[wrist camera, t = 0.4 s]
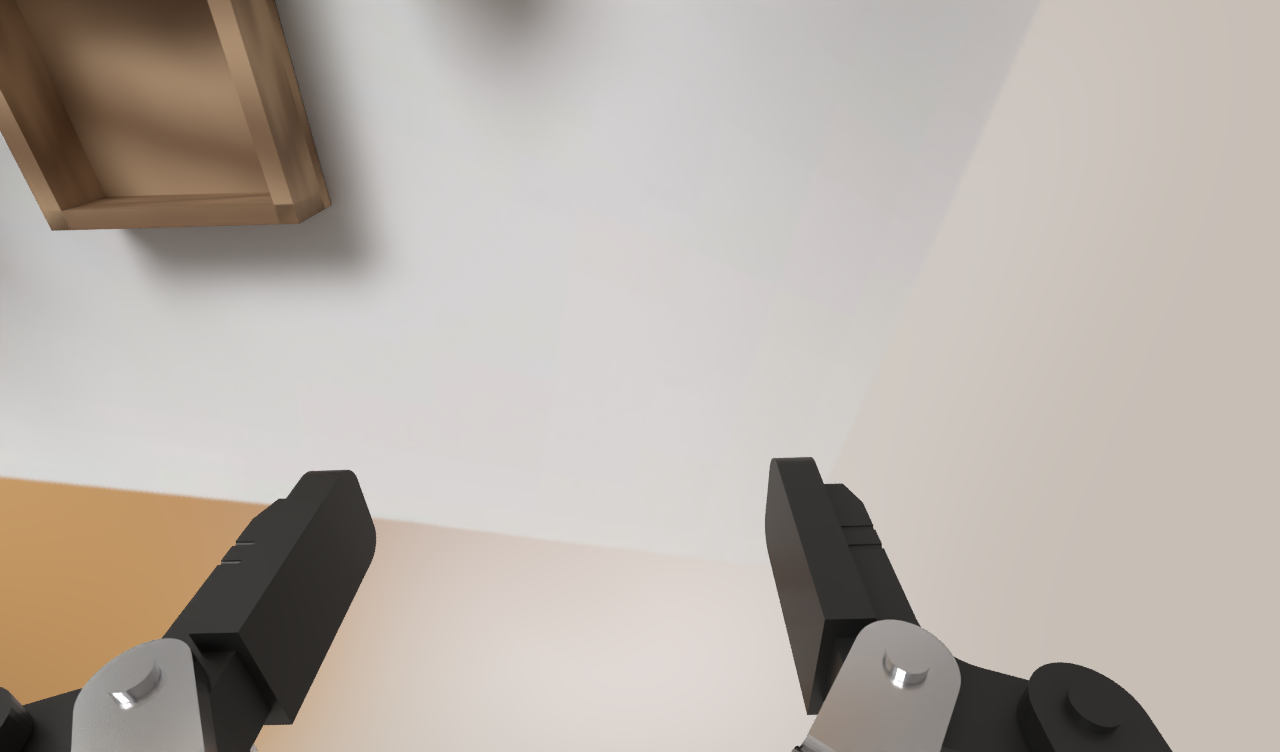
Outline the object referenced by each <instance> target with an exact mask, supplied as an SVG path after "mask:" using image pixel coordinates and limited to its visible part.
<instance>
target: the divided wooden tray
mask: <svg viewBox="0 0 1280 752" xmlns="http://www.w3.org/2000/svg"><path fill="white" fill-rule="evenodd" d="M0 131H1V133H2V135H3V137H4V139H5V141H6V143H7V145H8V147H9V149H10V151H11V153H12V154H13V156H14V158H15V160H16V162H17V164H18V166H19V168H20V170H21V172H22V174H23V176H24V178H25V180H26V182H27V183H28V185H29V187H30V189H31V191H32V193H33V195H34V197H35V199H36V201H37V203H38V205H39V207H40V209H41V211H42V212H43V214H44V216H45V218H46V220H47V222H48V224H49V226H50V228H51V230H52V231H53V230H88V229H123V228H159V227H194V226H229V225H264V224H299V223H301V222H303V221H304V220H306V219H308V218H310V217H311V216H313V215H315V214H317V213H318V212H320V211H322V210H324V209H325V208H327V207H329V206H331V202H330V199H329V195H328V192H327V188H326V184H325V181H324V177H323V174H322V170H321V166H320V163H319V159H318V156H317V152H316V148H315V145H314V141H313V138H312V134H311V131H310V127H309V123H308V120H307V116H306V113H305V109H304V105H303V102H302V98H301V95H300V91H299V87H298V84H297V80H296V77H295V73H294V70H293V66H292V62H291V59H290V55H289V52H288V48H287V44H286V41H285V37H284V34H283V30H282V27H281V23H280V19H279V16H278V12H277V9H276V5H275V1H274V0H0Z"/></svg>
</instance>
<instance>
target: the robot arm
mask: <svg viewBox="0 0 1280 752" xmlns="http://www.w3.org/2000/svg"><path fill="white" fill-rule="evenodd" d="M765 534H766V543H767V549H768V554H769V558H770V562H771V566H772V570H773V575H774V579H775V582H776V587H777V591H778V595H779V599H780V603H781V607H782V612H783V616H784V620H785V624H786V628H787V632H788V636H789V641H790V645H791V649H792V653H793V657H794V661H795V666H796V670H797V674H798V678H799V682H800V686H801V690H802V695H803V699H804V703H805V707H806V711H807V715H817V717H816V719H815V721H814V723H813V725H812V727H811V729H810V731H809V733H808V735H807V737H806V739H805V740H804V742H803V744H802V745H801V746H800V747H799V746H796V747H795V748H794V749H793V750H792V752H1172V750H1171V749H1170V747H1169V746H1168V744H1167V743H1166V741H1165V740H1164V738H1163V737H1162V735H1161V734H1160V732H1159V731H1158V729H1157V728H1156V726H1155V725H1154V723H1153V722H1152V720H1151V719H1150V717H1149V716H1148V714H1147V713H1146V712H1145V710H1144V709H1143V708H1142V706H1141V705H1140V704H1139V703H1138V702H1137V701H1136V700H1135V699H1134V697H1133V696H1131V695H1130V694H1129V693H1128V692H1127V691H1126V690H1125V689H1124V688H1122V687H1121V686H1120V685H1118V684H1117V683H1115V682H1114V681H1113V680H1111V679H1109V678H1107V677H1106V676H1104V675H1102V674H1100V673H1098V672H1096V671H1094V670H1092V669H1089V668H1086V667H1083V666H1080V665H1075V664H1071V663H1062V662H1061V663H1050V664H1046V665H1043V666H1042V667H1039V668H1038V669H1037V670H1036V671H1035V672H1034V673H1033V674H1032V676H1031V678H1030V680H1025V679H1022V678H1018V677H1014V676H1010V675H1006V674H1002V673H999V672H995V671H991V670H987V669H984V668H980V667H977V666H974V665H971V664H968V663H966V662H964V661H961V660H959V659H957V658H955V657H954V656H953V655H952V653H951V652H950V651H949V649H948V648H947V647H946V646H945V645H944V644H943V643H942V642H941V641H940V640H939V639H938V638H937V637H935V636H934V635H933V634H931V633H930V632H928V631H927V630H925V629H923V628H921V626H920V625H919V623H918V622H917V620H916V617H915V615H914V613H913V611H912V609H911V607H910V605H909V602H908V600H907V598H906V596H905V593H904V591H903V589H902V587H901V585H900V583H899V581H898V579H897V576H896V574H895V572H894V570H893V567H892V565H891V563H890V561H889V559H888V557H887V554H886V552H885V550H884V549H882V543H881V541H880V539H879V537H878V535H877V533H876V530H874V529H873V524H872V522H871V519H870V518H869V515H868V513H867V511H866V509H865V506H864V504H863V503H862V501H861V500H859V499H858V498H857V497H856V496H855V495H854V494H853V493H852V492H851V491H850V490H849V489H848V488H847V487H846V486H845V485H843V484H824V483H823V481H822V478H821V476H820V473H819V471H818V468H817V465H816V463H815V461H814V459H813V458H812V457H799V458H773V459H772V460H771V464H770V471H769V482H768V493H767V503H766V514H765ZM375 546H376V531H375V527H374V524H373V521H372V518H371V515H370V513H369V510H368V507H367V504H366V502H365V499H364V496H363V493H362V490H361V488H360V485H359V482H358V479H357V477H356V475H355V474H354V473H353V472H352V471H351V470H330V471H309V472H307V473H305V474H304V475H303V476H302V478H301V479H300V480H299V482H298V483H297V484H296V486H295V487H294V489H293V490H292V491H291V493H290V494H289V495H288V497H287V498H286V499H278V500H277V501H275V502H274V503H273V504H272V505H270V506H269V507H268V508H266V509H265V510H264V511H263V512H261V513H260V514H259V515H258V516H256V517H255V518H253V520H252V521H251V522H250V524H249V525H248V526H247V527H246V529H245V530H244V531H243V533H242V534H241V535H240V536H239V538H238V539H237V540H236V545H235V546H232V547H231V548H230V550H229V551H228V552H227V554H226V555H225V556H224V557H223V559H222V560H221V561H222V563H221V565H218V566H217V567H216V568H215V569H214V571H213V572H212V573H211V575H210V576H209V577H208V579H207V580H206V581H205V582H204V584H203V585H202V586H201V588H200V589H199V590H198V592H197V593H196V595H195V596H194V597H193V598H192V599H191V601H190V602H189V603H188V605H187V606H186V607H185V609H184V610H183V611H182V613H181V614H180V615H179V616H178V618H177V619H176V620H175V622H174V623H173V624H172V626H171V627H170V629H169V630H168V631H167V632H166V634H165V635H164V636H163V637H162V638H161V639H158V640H152V641H149V642H146V643H143V644H140V645H138V646H135V647H133V648H131V649H129V650H127V651H126V652H123V653H122V654H120V655H119V656H117V657H115V658H114V659H112V660H111V661H110V662H108V663H107V664H106V665H104V666H103V667H102V668H101V669H100V670H99V671H97V672H96V673H95V674H94V675H93V676H92V678H91V679H90V680H89V681H88V682H87V683H86V685H85V686H84V687H83V688H81V689H77V690H74V691H71V692H67V693H64V694H60V695H57V696H54V697H50V698H47V699H43V700H40V701H36V702H33V703H30V704H26V705H23V706H22V705H21V704H20V703H19V702H18V701H17V700H16V699H15V697H14V696H13V695H12V694H11V693H10V692H9V691H8V690H6V689H4V688H2V687H0V752H258V750H257V748H256V747H255V745H254V742H255V740H256V738H257V736H258V734H259V732H260V730H261V728H262V727H263V725H285V724H286V725H287V724H288V725H289V724H293V722H294V720H295V718H296V715H297V713H298V711H299V709H300V707H301V705H302V703H303V701H304V699H305V697H306V695H307V693H308V691H309V689H310V687H311V685H312V683H313V680H314V679H315V677H316V674H317V672H318V670H319V668H320V666H321V664H322V662H323V660H324V658H325V656H326V654H327V652H328V650H329V648H330V646H331V644H332V642H333V640H334V637H335V635H336V633H337V631H338V629H339V627H340V625H341V623H342V621H343V619H344V617H345V615H346V613H347V611H348V609H349V606H350V605H351V602H352V600H353V598H354V596H355V594H356V592H357V590H358V588H359V586H360V584H361V582H362V579H363V578H364V576H365V574H366V572H367V570H368V568H369V566H370V564H371V561H372V559H373V556H374V552H375Z"/></svg>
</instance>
